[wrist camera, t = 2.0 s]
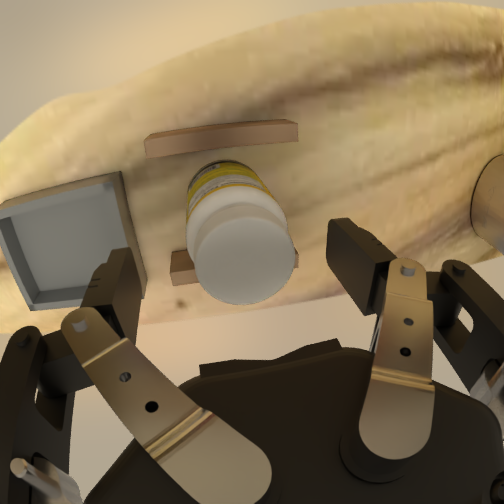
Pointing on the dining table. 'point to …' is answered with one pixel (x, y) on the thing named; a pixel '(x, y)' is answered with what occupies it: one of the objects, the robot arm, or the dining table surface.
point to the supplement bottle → (237, 234)
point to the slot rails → (213, 139)
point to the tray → (66, 238)
